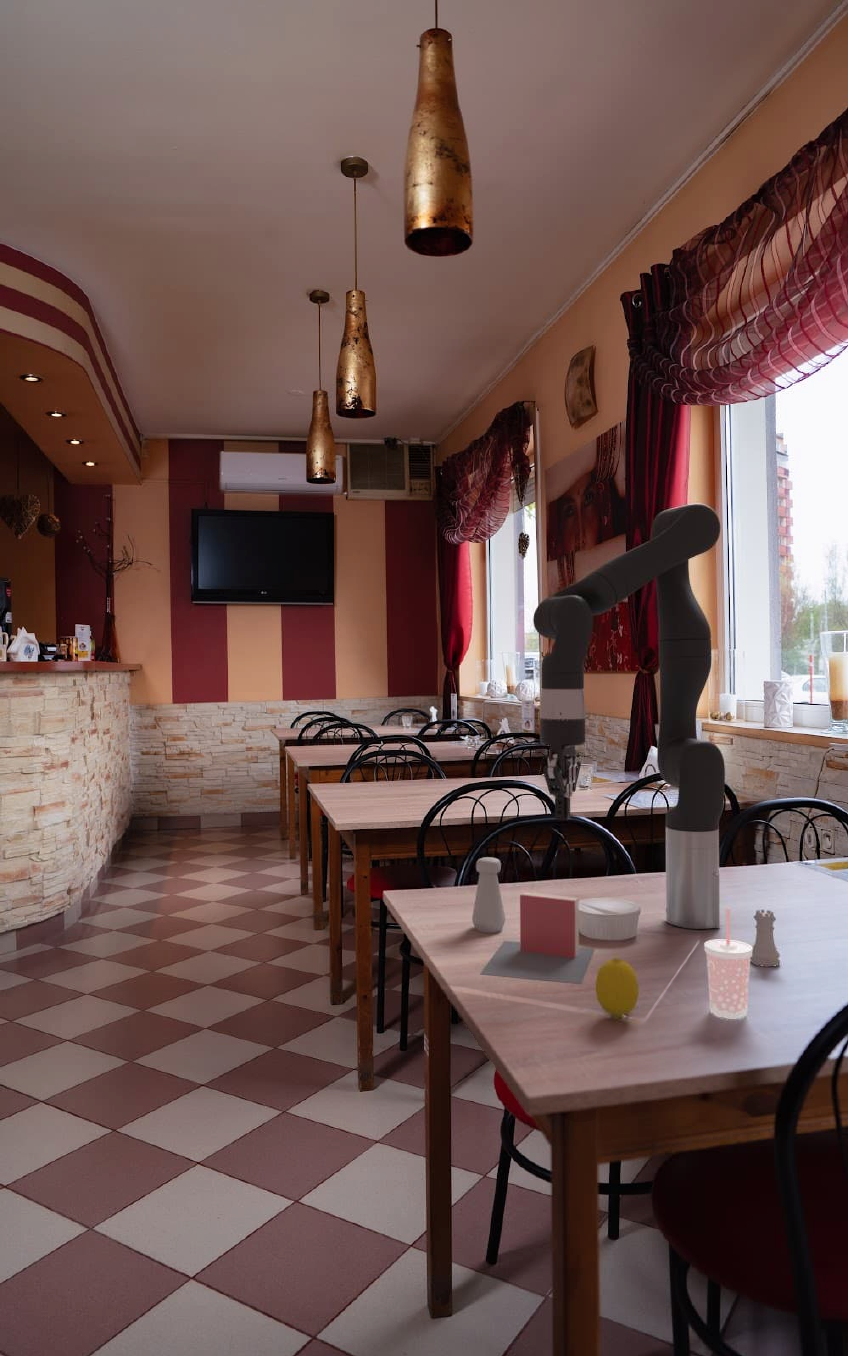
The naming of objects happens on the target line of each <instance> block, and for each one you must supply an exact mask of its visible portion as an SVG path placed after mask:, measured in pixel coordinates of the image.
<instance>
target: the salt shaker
mask: <svg viewBox="0 0 848 1356" xmlns="http://www.w3.org/2000/svg"><path fill="white" fill-rule="evenodd" d="M501 867H502V863H501V860H500V859H498V858H496V857H492V856H490V857H489V856H486V857H484V856H483V857H481V858H479V859H478V860H477V861H476V863H475V869H476V872H478V873H479V875H478V881H477V886H476V887H477V888H476V893H475V899H474V900H475V901H474V904H473V905H474V906H473V912H472V917H471V920H472V923H473V926H474V929H475V930H476V931H478V932H480V933H484V934H495V933H498V932H502V930H503V928H504V926H505V922H506V914H505V913H506V912H505V908H504V905H503V899H502V894H501V893H502V892H501V888H500V884H499V878H498V873H500V872H501V869H502V868H501Z"/></svg>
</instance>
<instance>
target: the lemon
mask: <svg viewBox="0 0 848 1356" xmlns="http://www.w3.org/2000/svg"><path fill="white" fill-rule="evenodd" d="M639 991H640V988H639V981H638V977H637V974H636V972H635V969H634V967H632V966H631V964H629V963H627V962H626V961H624V960H622V959H620V957H614V958H613V959H611V960H608V961H606V962H605V963H603V964H602V966H601V967H600V968H599V970H598V971H597V975H596V979H595V995H596V998H597V1002H598V1003H599V1005H600V1006H601V1008H602V1009H603V1010H604V1011H605V1012H607V1013H608V1014H610V1015H612V1017H613V1018H615V1019H617V1020H619V1019H621V1018H622V1016H623V1015H627V1014H629V1013H631V1011H632V1010H633V1009H634V1008H635V1006H637V1005H636V1004H637V1002H638V998H639V993H640V992H639Z"/></svg>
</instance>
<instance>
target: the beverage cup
mask: <svg viewBox="0 0 848 1356" xmlns="http://www.w3.org/2000/svg"><path fill="white" fill-rule="evenodd" d="M725 911H726V912H725V925H726V926H725V928H726V929H725V930H726V932H725V938H724V939H723V938H719V939H715V938H714V939H710V940H707V941H705V942H703V946H704V952H705V954H706V965H707V983H708V994H709V997H708V998H709V1011H710V1014H712V1013H713V1014H714V1015H715V1016H714V1015H713V1014H712V1015H713V1016H714V1017H716V1016H717V1017H716V1018H719V1017H724V1018H729V1019H736V1018H741V1017H745V1016H746V1015H747V1016H748V1001H749V987H750V986H749V985H750V984H749V983H750V970H751V969H750V968H751V960H750V957H751V956H752V951H753V948H754V947H753V946H752V945H750V944H748V943H747V942H745V941H744V942H743V941H740V940H737V939H735V940H734V939H731V908H730V907H726V908H725ZM747 1016H746V1017H747ZM746 1017H745V1018H746Z"/></svg>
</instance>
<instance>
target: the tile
mask: <svg viewBox="0 0 848 1356" xmlns="http://www.w3.org/2000/svg"><path fill="white" fill-rule="evenodd" d="M579 901H580V900H579V897H572V896H566V895H565V896H564V895H555V894H549V893H548V894H546V893H539V892H529V891H524V892H523V893H521V894H520V896H519V919H520V920H519V924H520V926H519V930H520V933H519V937H520V939H519V942H520V951H525V952H532V953H538V954H545V955H552V956H559V957H566V958H573V959H575V958H576V957H577V956H578V955H579V947H580V932H579Z"/></svg>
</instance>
